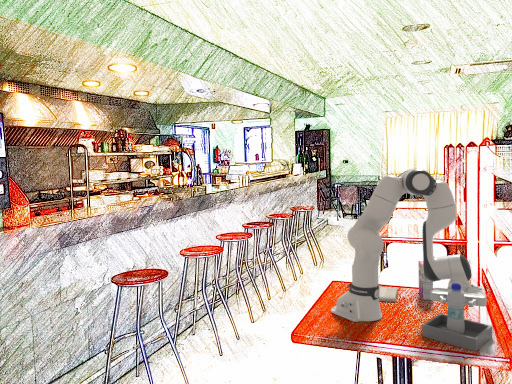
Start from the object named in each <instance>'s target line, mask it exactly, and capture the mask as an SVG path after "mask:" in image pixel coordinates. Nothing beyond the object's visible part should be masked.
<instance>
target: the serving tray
mask: <svg viewBox="0 0 512 384" xmlns="http://www.w3.org/2000/svg"><path fill="white" fill-rule="evenodd" d="M447 318H448V314H444V313H439V314H437V315H436V316H434V317H432V318H431V319H429V320H428V321H426V322H424V323H423V324H422V325H421V326H422V332H421V335H422V337H424V338H427V339H431V340H435V341H438V342H442V343H445V344H449V345H453V346H456V347H459V348H462V349H466V350H470V351H473V352H477V351H478V350H479V349H481V348H482V347H483V346H484V345H485V344H487V342H489V341H490V340H491V339H492V338H493V326H492V325H490V324H485V323H481V322H478V321H473V320H469V319H465V318H464V324H465V331H464V333H463V335H462V334H459V333H455V332H451V331H447Z"/></svg>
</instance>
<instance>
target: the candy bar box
mask: <svg viewBox="0 0 512 384" xmlns="http://www.w3.org/2000/svg"><path fill="white" fill-rule="evenodd" d="M417 266H418V294H419V295H420V297H421V299H422V301H432V300H431V299H430V292H431V290H432V289H434V284H433V283H434V282H432V281H430V280H428V279H427V278H426V277H425V276H424V273H423V260H418V265H417Z"/></svg>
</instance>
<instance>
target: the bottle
mask: <svg viewBox="0 0 512 384" xmlns="http://www.w3.org/2000/svg"><path fill="white" fill-rule="evenodd" d="M465 301H466V300H465V293H464V292H463V291H462V290H461V285H460V284H458V283H453V284H452V285H451V290H448V293H447V302H446V304H447V315H448V318H447V331H451V332H455V333H459V334H462V335H463V333H464V331H465V324H464V319H465Z"/></svg>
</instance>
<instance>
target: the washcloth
mask: <svg viewBox="0 0 512 384" xmlns="http://www.w3.org/2000/svg"><path fill="white" fill-rule="evenodd" d="M398 291H399V289H398V287H396V286H395V287H390V286H389V287H386V286H380V285H379V302H387V303H388V302H389V303H397V298H398V297H397V296H398Z"/></svg>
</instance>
